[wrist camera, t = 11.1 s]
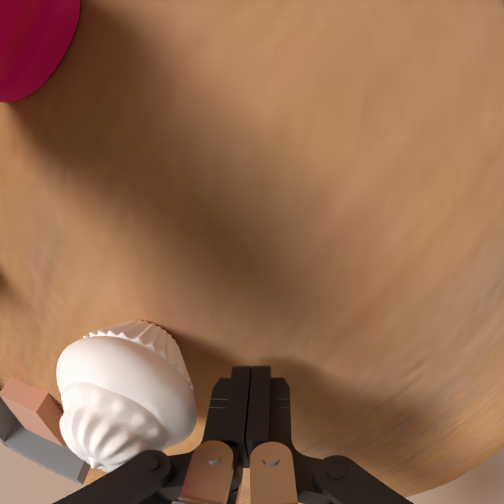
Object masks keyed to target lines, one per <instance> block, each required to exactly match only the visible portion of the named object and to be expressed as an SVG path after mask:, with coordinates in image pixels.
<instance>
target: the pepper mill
mask: <svg viewBox="0 0 504 504" xmlns="http://www.w3.org/2000/svg"><path fill="white" fill-rule="evenodd" d="M79 12H80V0H0V102H11V101H18V100H21V99H23V98H26V97H27V96H29V95H30V94H32V93H33V92H35V91H36V90H37V89H38V88H39V87H40V86H41V85H43V84H44V83H45V82H46V80H47V79H48V78H49V77H50V75H51V74H52V73H53V72H54V70H55V69H56V68H57V67H58V65H59V63H60V61H61V60H62V58H63V56H64V55H65V53H66V52H67V50H68V48H69V45H70V43H71V41H72V38H73V36H74V34H75V30H76V27H77V23H78V20H79Z"/></svg>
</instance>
